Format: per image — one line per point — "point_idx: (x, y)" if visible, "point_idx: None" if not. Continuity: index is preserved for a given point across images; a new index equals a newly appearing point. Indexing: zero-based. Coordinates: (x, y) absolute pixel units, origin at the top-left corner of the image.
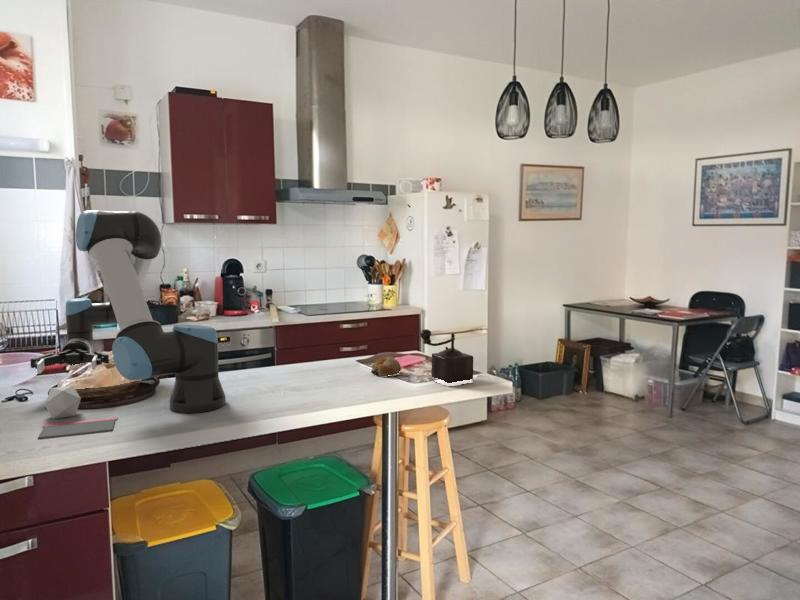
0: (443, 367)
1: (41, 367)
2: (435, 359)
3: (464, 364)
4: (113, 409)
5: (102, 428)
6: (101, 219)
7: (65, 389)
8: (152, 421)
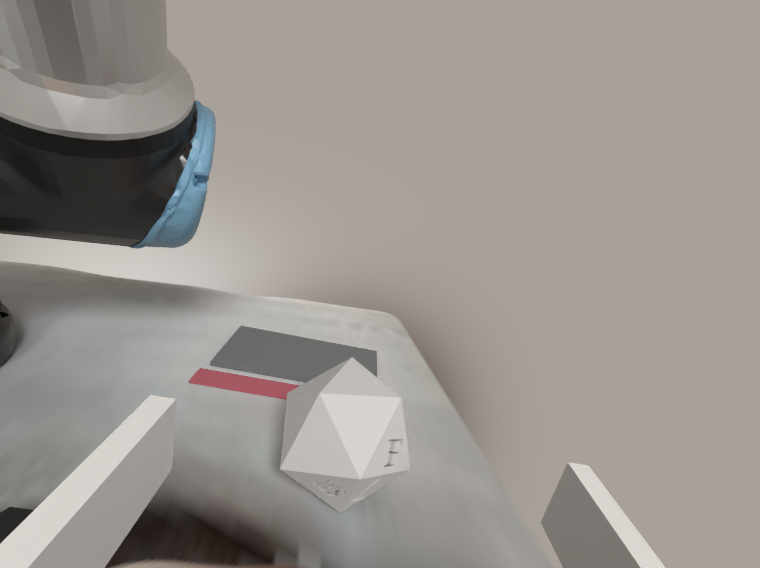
0: None
1: (585, 552)
2: None
3: None
4: None
5: (257, 335)
6: None
7: (344, 364)
8: (134, 330)
